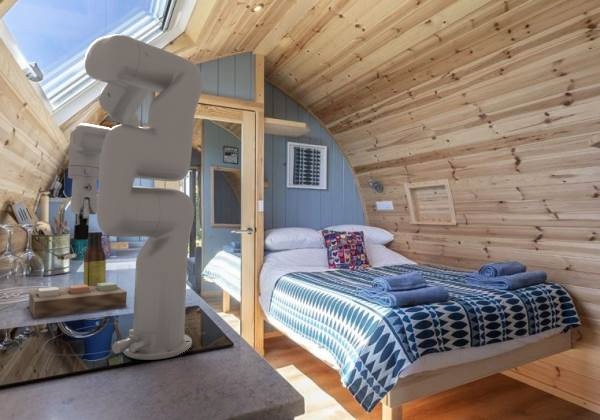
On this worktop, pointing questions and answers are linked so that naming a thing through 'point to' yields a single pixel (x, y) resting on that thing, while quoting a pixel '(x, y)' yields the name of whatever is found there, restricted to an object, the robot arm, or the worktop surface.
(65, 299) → the button panel
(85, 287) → the terracotta button
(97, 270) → the sauce bottle
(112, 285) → the sage button
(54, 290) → the cream button
